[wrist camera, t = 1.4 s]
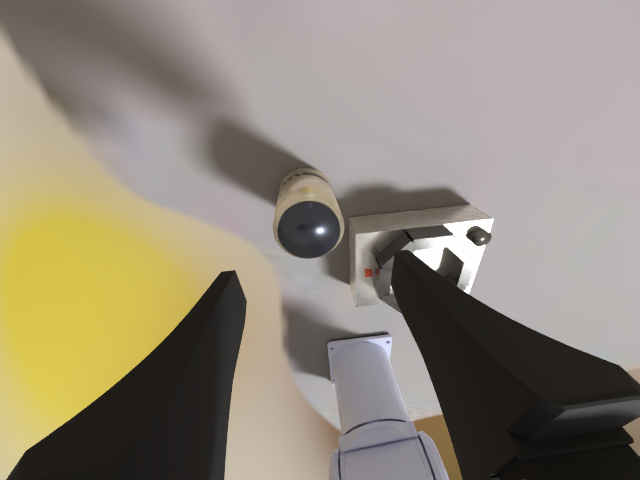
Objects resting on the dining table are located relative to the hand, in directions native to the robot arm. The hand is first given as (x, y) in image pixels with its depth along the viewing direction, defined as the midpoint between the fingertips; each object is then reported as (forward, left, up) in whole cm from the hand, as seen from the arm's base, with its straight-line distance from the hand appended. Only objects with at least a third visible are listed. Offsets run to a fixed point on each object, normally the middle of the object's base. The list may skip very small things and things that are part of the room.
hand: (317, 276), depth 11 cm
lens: (0, 0, -11) cm, 11 cm away
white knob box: (-7, -9, -11) cm, 15 cm away
